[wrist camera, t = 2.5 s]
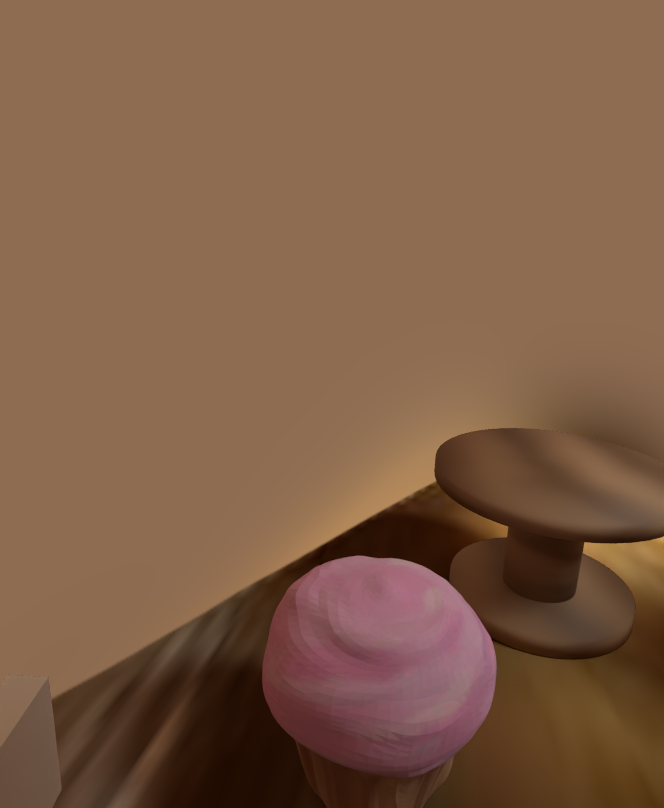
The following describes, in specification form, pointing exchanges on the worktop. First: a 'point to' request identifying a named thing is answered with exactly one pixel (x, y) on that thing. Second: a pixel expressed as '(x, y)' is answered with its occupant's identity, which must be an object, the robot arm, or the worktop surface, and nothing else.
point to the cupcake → (377, 679)
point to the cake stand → (550, 534)
